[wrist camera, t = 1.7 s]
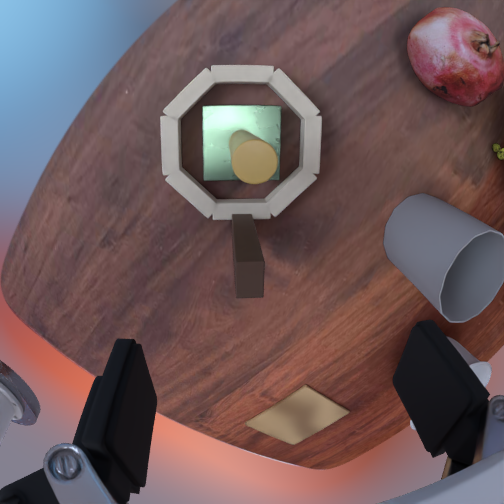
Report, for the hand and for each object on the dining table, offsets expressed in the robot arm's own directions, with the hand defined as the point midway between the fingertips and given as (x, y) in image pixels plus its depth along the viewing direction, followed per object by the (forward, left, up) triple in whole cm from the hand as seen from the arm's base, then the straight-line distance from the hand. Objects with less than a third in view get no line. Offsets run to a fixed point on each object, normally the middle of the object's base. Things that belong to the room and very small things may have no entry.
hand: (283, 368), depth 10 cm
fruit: (+17, +16, -18) cm, 30 cm away
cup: (+17, -2, -18) cm, 25 cm away
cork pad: (+8, -30, -18) cm, 36 cm away
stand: (0, +6, -18) cm, 19 cm away
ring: (0, +6, -18) cm, 19 cm away
